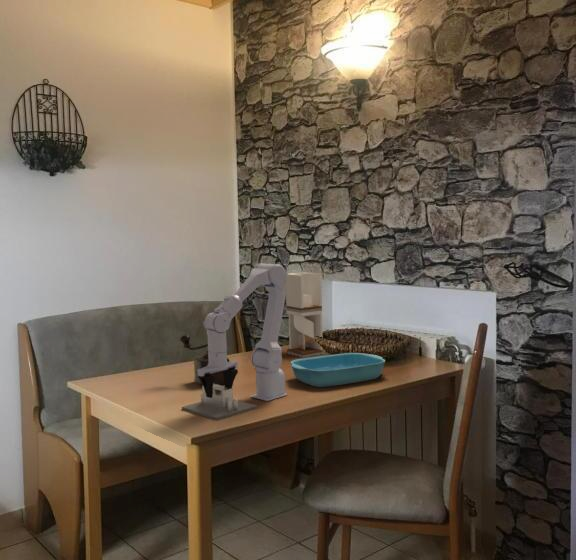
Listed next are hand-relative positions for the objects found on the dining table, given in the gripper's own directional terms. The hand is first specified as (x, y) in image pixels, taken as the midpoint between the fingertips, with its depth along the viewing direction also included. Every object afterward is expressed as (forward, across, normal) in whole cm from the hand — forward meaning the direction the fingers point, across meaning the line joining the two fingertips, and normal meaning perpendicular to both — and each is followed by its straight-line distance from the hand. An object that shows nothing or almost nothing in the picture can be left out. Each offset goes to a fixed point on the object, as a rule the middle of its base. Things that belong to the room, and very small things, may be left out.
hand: (219, 394), depth 199 cm
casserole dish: (+5, -53, +4) cm, 53 cm away
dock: (+4, 0, 0) cm, 5 cm away
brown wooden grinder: (+5, -17, -28) cm, 33 cm away
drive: (+4, 0, -1) cm, 4 cm away
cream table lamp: (+5, -77, -34) cm, 84 cm away
